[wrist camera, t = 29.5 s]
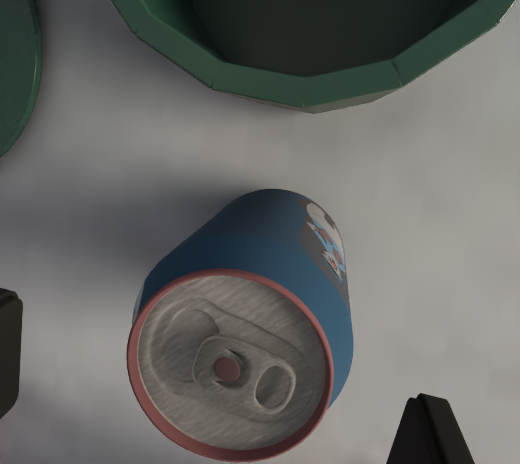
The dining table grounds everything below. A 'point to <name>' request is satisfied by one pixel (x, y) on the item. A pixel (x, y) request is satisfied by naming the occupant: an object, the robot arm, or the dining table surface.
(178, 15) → the pot
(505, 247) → the dining table surface
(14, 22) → the pot lid
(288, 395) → the soda can
